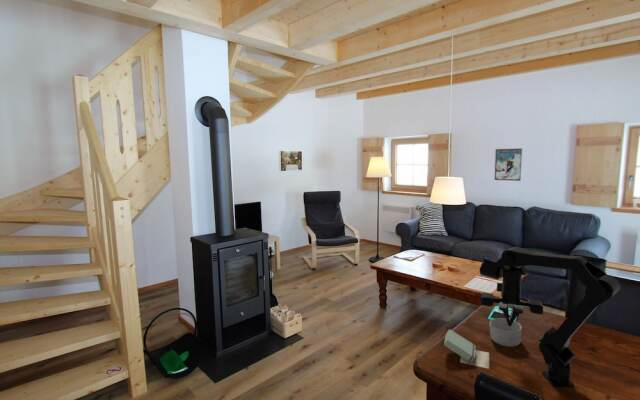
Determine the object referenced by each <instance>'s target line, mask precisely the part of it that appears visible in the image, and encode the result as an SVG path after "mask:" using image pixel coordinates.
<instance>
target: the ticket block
mask: <svg viewBox="0 0 640 400" xmlns="http://www.w3.org/2000/svg"><path fill="white" fill-rule="evenodd" d="M459 361H460V362H459V363H461V364H466V365H471V366H475V367H479V368H484V369H488V370H489V369H490V352H487V351H482V350H477V349H475V358H474V359H473V361H472V362H471V363H470V362H469V361H467V360H466V359H464V358H463V357H461V356H460V359H459Z"/></svg>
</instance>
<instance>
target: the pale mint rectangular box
mask: <svg viewBox="0 0 640 400" xmlns="http://www.w3.org/2000/svg"><path fill="white" fill-rule="evenodd" d="M443 342H444V344H443V346H445V347H446V348H447V349H450V350H451V351H453V352H454V353H455V354H457V355H458V356H460V358H461V357H463V358H464V359H466V360H467V361H469V362H470V363H471V362H472V361H473V359H474V358H475V350H476V344H474V343H472V342H471V341H470V340H467V339H466V338H464V336H461V335H460V334H458V333H457V332H455V331H453V330H452V329H450V328H449V329H448V331H447V332H446V334H445V339H444V341H443Z"/></svg>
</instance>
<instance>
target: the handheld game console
mask: <svg viewBox="0 0 640 400" xmlns="http://www.w3.org/2000/svg"><path fill="white" fill-rule="evenodd" d="M508 310H509V318H510V316H511V311H512V307H511V308H510V307H508ZM497 318H504V319H506V317H505V315H504V313H503V311H502V310H499V305H496V306H494V308H492V311H491V312H490V314H489V315H488V318H487V320H489V321H491V320H493V319H497ZM517 319H518V316H517V317H516V318H515V320H514V321H515V322H517V321H516V320H517Z"/></svg>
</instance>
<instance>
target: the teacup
mask: <svg viewBox="0 0 640 400" xmlns="http://www.w3.org/2000/svg"><path fill="white" fill-rule="evenodd" d="M509 320H510V318H509ZM488 324H489V334H490V338H491V340H492V341H493V342H494V343H496V344H498V345H499V346H504V347H509V348H511V347H512V348H513V347H514V348H515V347H517V346H518V345H520V344H521V341H522V329H523V327H522V325H521V323H520V322H517V321H514V322H513V323H512V325H511V326H508V324H507V321H506V319H504V318H497V319H493V320H489V323H488Z"/></svg>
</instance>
